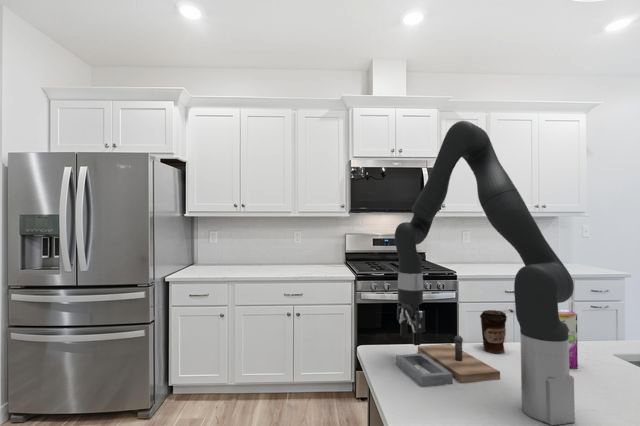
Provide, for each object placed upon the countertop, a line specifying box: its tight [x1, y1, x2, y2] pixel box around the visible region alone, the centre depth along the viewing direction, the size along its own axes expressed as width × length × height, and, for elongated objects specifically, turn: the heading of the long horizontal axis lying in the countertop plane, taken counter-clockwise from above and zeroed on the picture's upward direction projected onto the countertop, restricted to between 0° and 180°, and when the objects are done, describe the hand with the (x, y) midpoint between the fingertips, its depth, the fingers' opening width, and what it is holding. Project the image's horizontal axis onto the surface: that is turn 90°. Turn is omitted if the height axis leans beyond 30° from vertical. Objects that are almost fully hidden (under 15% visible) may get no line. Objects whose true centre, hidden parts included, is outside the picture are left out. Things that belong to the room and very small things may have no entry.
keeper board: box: [417, 335, 501, 384], centre depth 108 cm, size 24×12×9 cm, turn 12°
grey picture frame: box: [395, 353, 454, 388], centre depth 102 cm, size 16×9×3 cm, turn 12°
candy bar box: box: [558, 309, 579, 369], centre depth 108 cm, size 11×5×16 cm, turn 84°
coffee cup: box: [479, 309, 508, 354], centre depth 121 cm, size 9×8×13 cm
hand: (410, 340), depth 109 cm, fingers open, 8 cm apart
